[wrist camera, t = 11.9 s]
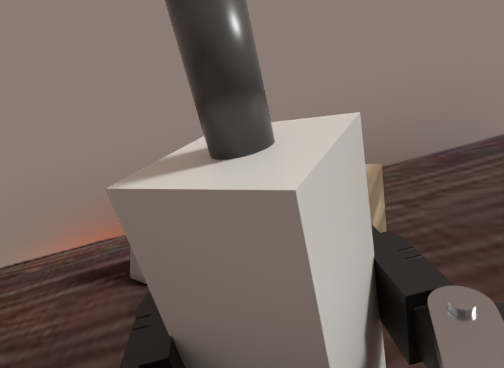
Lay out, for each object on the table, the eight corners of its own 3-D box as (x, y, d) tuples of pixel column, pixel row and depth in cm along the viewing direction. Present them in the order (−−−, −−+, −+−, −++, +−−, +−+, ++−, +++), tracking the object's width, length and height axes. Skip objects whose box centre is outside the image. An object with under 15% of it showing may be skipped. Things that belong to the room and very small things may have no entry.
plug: (253, 529, 11) (32, 20, 5) (295, 414, 14) (187, 15, 8) (376, 610, 9) (241, -90, 3) (394, 454, 12) (343, -42, 6)
